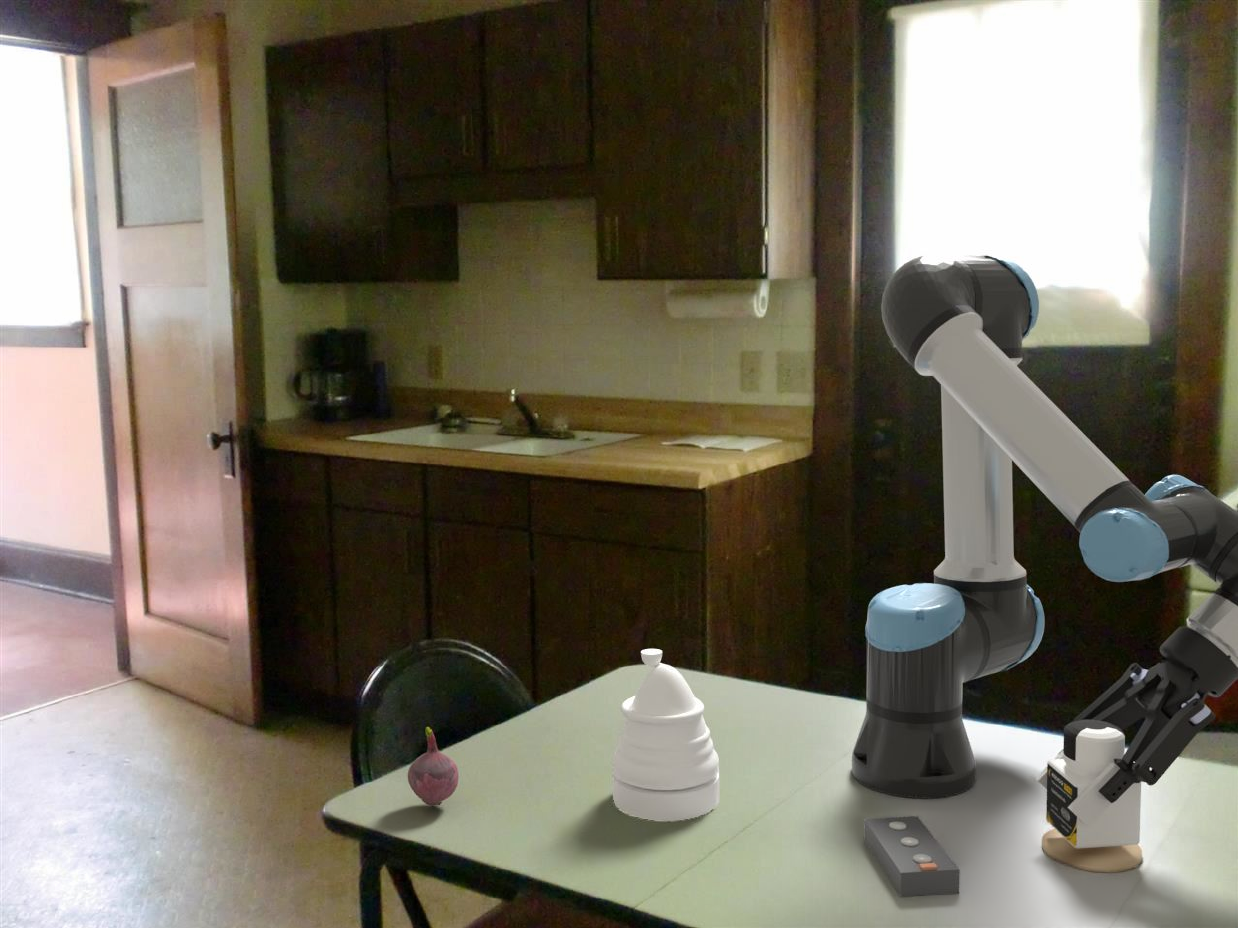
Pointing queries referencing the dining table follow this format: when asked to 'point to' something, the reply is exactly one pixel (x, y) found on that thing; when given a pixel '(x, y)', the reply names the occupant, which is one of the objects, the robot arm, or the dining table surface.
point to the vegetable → (433, 774)
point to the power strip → (911, 856)
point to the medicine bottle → (1067, 778)
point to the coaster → (1091, 854)
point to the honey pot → (664, 750)
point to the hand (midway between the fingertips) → (1061, 801)
